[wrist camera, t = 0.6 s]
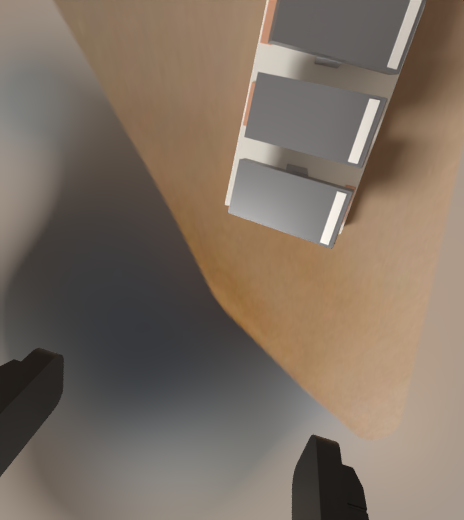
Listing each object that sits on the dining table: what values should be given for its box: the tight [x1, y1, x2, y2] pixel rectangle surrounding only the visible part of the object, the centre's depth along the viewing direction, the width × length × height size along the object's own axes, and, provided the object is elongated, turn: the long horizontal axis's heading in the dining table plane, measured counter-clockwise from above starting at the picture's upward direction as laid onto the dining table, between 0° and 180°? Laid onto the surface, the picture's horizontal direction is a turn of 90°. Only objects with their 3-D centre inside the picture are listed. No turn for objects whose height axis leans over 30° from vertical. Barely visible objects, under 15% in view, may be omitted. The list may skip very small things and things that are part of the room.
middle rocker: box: [244, 72, 388, 168], centre depth 22 cm, size 4×8×1 cm, turn 78°
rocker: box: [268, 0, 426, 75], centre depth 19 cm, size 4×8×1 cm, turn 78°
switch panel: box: [225, 0, 426, 234], centre depth 25 cm, size 16×10×4 cm, turn 168°
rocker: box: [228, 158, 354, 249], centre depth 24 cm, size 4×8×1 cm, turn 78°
